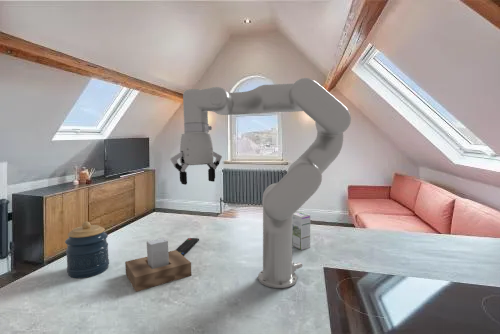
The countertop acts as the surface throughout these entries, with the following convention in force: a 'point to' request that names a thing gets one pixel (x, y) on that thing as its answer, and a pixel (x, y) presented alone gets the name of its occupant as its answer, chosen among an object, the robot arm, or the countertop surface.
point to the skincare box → (157, 253)
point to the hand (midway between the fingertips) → (198, 182)
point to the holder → (157, 271)
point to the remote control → (187, 245)
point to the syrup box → (301, 230)
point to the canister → (87, 251)
